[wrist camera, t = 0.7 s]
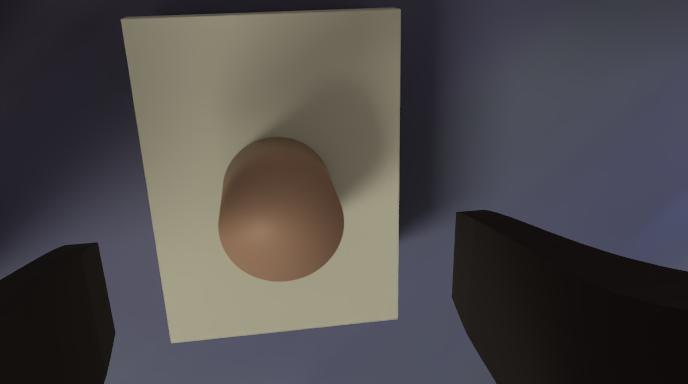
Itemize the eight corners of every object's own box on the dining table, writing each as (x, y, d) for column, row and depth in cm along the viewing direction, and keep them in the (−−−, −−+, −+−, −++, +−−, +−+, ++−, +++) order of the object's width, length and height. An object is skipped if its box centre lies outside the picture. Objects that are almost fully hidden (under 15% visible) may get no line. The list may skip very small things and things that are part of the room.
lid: (388, 297, 20) (419, 370, 16) (176, 319, 19) (158, 402, 15) (390, 6, 16) (429, 16, 13) (130, 15, 15) (94, 29, 12)
